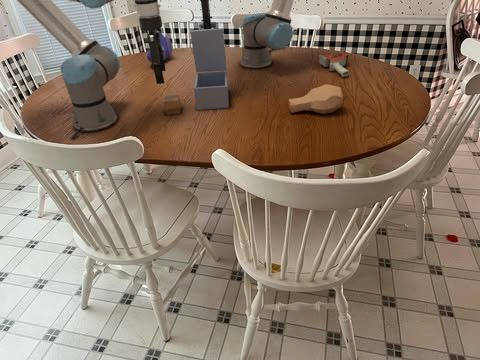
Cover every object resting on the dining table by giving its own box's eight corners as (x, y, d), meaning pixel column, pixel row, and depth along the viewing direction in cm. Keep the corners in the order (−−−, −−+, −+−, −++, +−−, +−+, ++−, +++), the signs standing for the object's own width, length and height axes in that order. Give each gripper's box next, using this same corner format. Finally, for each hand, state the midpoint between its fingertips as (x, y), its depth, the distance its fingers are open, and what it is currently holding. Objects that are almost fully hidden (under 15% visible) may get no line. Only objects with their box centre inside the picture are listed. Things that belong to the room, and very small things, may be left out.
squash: (347, 114, 128) (348, 93, 121) (291, 124, 130) (290, 103, 123) (339, 97, 135) (340, 77, 129) (287, 107, 137) (285, 87, 131)
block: (180, 113, 136) (177, 100, 132) (165, 114, 136) (163, 101, 132) (181, 107, 140) (179, 94, 137) (167, 108, 140) (164, 95, 137)
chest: (228, 107, 138) (227, 86, 133) (196, 109, 138) (193, 88, 133) (228, 91, 151) (226, 71, 146) (199, 93, 151) (196, 73, 146)
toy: (161, 63, 199) (140, 68, 177) (156, 30, 193) (134, 32, 170) (177, 62, 197) (158, 68, 175) (173, 29, 190) (153, 31, 168)
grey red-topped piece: (345, 82, 156) (359, 65, 169) (347, 70, 153) (362, 54, 165) (308, 74, 164) (324, 58, 176) (309, 63, 160) (326, 48, 173)
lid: (223, 29, 132) (222, 17, 138) (189, 31, 132) (190, 19, 138) (226, 70, 146) (226, 58, 151) (196, 72, 146) (196, 60, 151)
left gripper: (158, 23, 111) (170, 88, 124) (162, 8, 131) (172, 65, 144) (134, 25, 111) (149, 90, 123) (141, 10, 131) (153, 67, 143)
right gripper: (211, -29, 121) (217, 42, 135) (212, -34, 134) (218, 32, 147) (189, -28, 121) (198, 43, 135) (192, -33, 134) (200, 33, 147)
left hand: (161, 77), depth 133 cm, fingers open, 13 cm apart
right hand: (208, 37), depth 141 cm, fingers closed on lid, 2 cm apart
